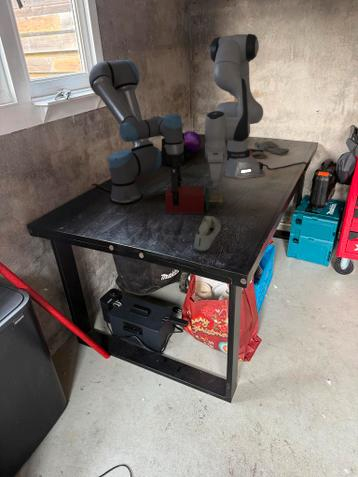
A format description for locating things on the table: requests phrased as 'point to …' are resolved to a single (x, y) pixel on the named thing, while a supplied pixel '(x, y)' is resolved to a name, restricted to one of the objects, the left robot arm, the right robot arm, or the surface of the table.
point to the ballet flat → (206, 233)
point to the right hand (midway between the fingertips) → (215, 183)
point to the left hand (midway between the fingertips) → (177, 199)
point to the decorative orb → (192, 141)
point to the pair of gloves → (267, 149)
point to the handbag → (163, 153)
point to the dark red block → (186, 200)
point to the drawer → (212, 200)
